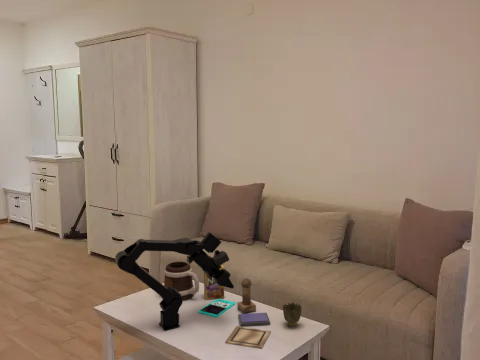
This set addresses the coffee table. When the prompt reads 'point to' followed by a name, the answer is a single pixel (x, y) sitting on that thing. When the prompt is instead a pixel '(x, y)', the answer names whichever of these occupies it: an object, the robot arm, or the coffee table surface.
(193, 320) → the coffee table surface
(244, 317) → the ink pad
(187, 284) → the mug
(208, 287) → the candy box
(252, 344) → the kraft card
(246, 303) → the stamp
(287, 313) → the cup
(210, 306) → the handheld game console
